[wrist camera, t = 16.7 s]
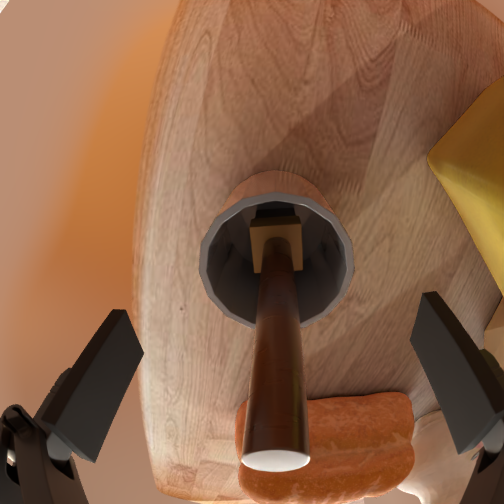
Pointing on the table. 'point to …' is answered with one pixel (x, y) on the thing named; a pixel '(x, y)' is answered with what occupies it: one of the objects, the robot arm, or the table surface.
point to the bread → (340, 452)
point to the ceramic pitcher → (438, 463)
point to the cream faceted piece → (496, 335)
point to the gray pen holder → (240, 253)
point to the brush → (276, 349)
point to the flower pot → (477, 174)
